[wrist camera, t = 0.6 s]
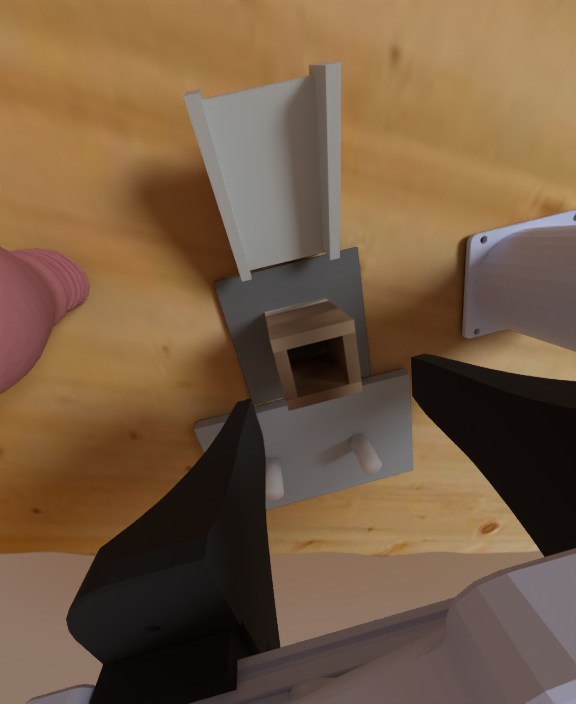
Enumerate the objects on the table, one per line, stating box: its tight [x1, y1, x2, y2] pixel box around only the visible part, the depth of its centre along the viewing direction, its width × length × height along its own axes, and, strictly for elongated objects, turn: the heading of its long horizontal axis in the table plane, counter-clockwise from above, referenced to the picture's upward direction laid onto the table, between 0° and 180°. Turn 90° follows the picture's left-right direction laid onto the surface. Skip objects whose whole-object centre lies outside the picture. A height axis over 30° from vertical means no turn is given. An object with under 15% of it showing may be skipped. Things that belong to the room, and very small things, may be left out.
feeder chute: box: [183, 62, 341, 282], centre depth 14 cm, size 6×8×6 cm
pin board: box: [194, 369, 413, 510], centre depth 23 cm, size 18×11×4 cm, turn 103°
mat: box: [213, 247, 371, 405], centre depth 20 cm, size 10×10×1 cm
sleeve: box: [265, 297, 363, 411], centre depth 17 cm, size 4×4×6 cm
